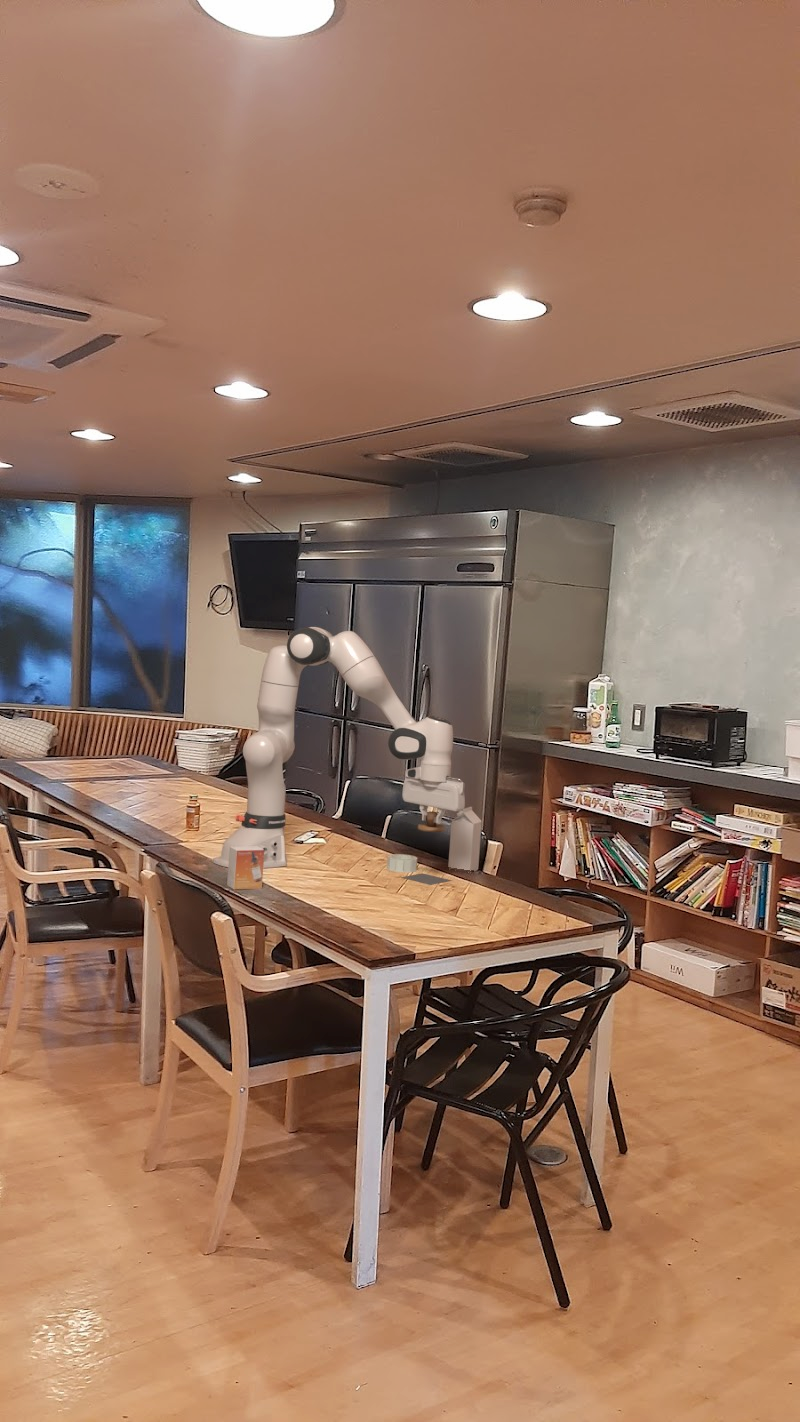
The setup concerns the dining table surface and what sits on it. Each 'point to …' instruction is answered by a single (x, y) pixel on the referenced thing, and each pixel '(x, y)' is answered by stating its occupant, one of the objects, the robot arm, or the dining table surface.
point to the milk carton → (465, 840)
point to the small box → (245, 867)
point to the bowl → (402, 863)
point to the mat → (426, 879)
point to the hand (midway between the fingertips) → (431, 822)
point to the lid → (431, 824)
